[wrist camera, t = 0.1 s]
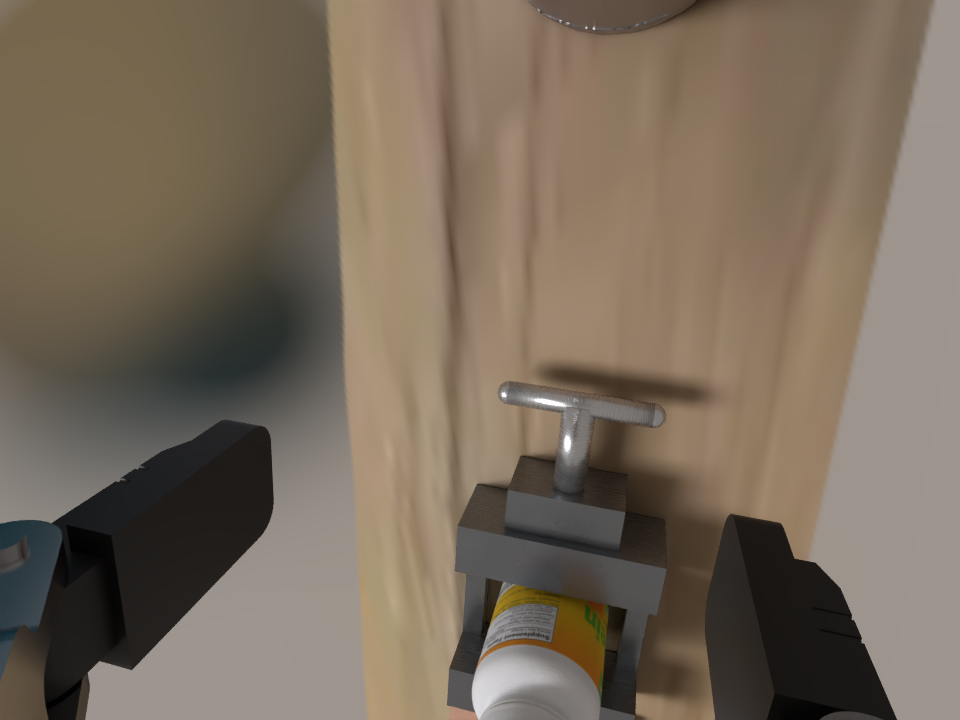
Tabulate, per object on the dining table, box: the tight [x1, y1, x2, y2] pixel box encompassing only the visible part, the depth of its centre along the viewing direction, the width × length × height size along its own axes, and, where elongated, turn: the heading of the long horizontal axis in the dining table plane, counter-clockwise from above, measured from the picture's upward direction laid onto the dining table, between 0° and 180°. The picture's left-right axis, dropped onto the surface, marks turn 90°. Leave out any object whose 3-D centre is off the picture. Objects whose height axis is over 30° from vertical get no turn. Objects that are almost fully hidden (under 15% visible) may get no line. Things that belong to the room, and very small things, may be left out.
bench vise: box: [447, 381, 667, 720], centre depth 30 cm, size 18×9×4 cm, turn 176°
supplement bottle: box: [472, 582, 609, 720], centre depth 28 cm, size 5×5×10 cm
